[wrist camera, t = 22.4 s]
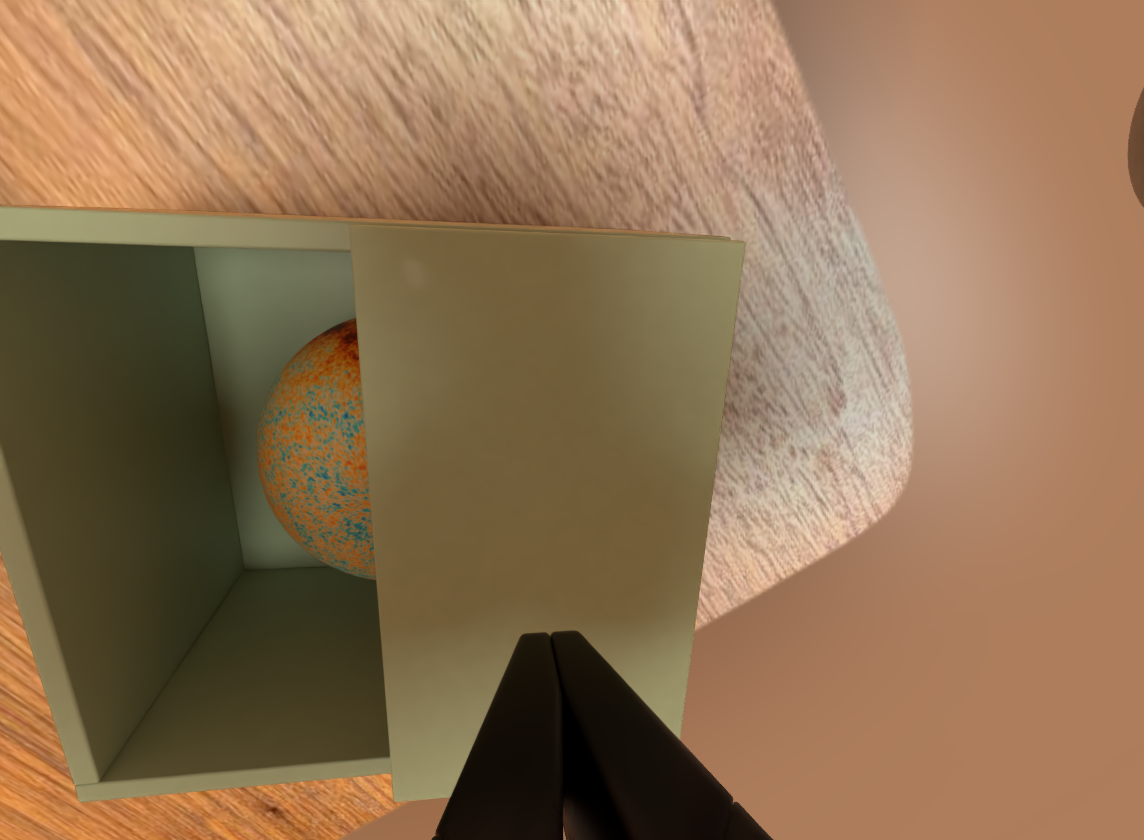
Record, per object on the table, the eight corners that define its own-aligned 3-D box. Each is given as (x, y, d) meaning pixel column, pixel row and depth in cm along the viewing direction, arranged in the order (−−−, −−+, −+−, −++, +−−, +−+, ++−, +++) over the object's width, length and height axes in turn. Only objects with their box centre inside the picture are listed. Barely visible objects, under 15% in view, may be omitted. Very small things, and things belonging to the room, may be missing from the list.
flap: (737, 240, 10) (747, 241, 10) (670, 761, 14) (675, 776, 13) (353, 224, 9) (348, 224, 9) (396, 786, 13) (393, 803, 13)
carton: (624, 229, 18) (732, 236, 10) (602, 558, 22) (668, 748, 14) (176, 209, 16) (-113, 201, 8) (237, 574, 20) (78, 804, 12)
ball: (348, 524, 20) (280, 677, 13) (269, 325, 17) (137, 389, 11) (548, 474, 20) (579, 597, 14) (498, 272, 18) (507, 303, 11)
